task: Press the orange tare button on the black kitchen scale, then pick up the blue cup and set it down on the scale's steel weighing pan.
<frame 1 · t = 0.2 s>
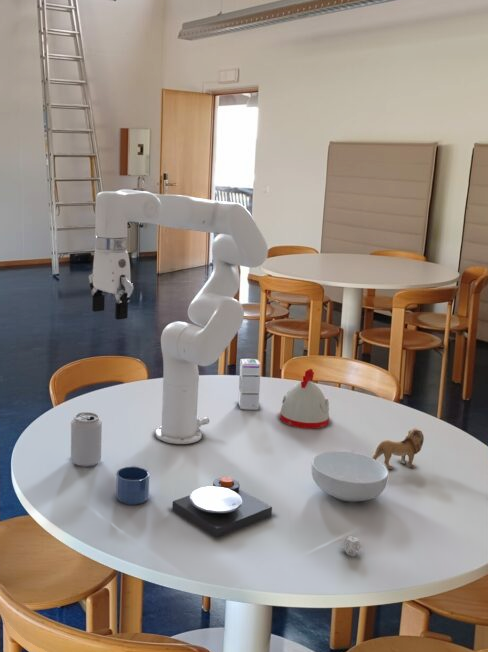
hand: (109, 314, 172), 37 cm above the table, tool pointing down, fingers open, 9 cm apart
syrup box: (247, 407, 219), on the table
can: (85, 462, 176), on the table
tare button: (226, 482, 159), point 4 cm above the table, slide at 0.2 cm
lion figurine: (396, 465, 180), on the table
weighing pan: (214, 515, 152), resting on scale
blue cup: (132, 498, 158), on the table
kitchen timer: (304, 420, 209), on the table
cereal bowl: (347, 495, 163), on the table
game die: (351, 553, 139), on the table
scale: (221, 512, 153), on the table
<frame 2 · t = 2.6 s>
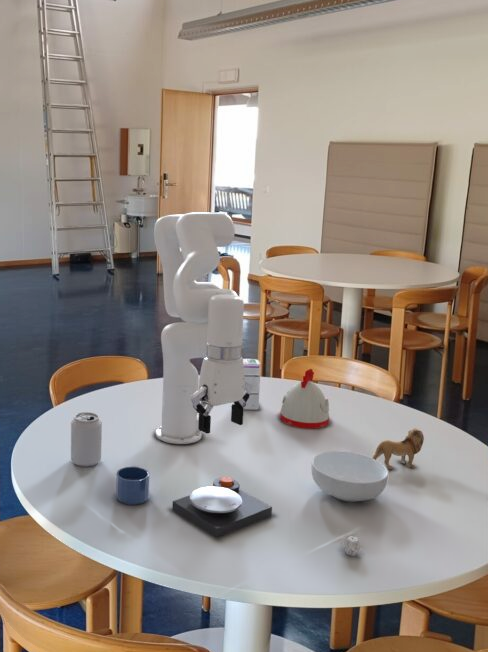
hand: (220, 427, 157), 16 cm above the table, tool pointing down, fingers open, 9 cm apart
nothing on the table moved.
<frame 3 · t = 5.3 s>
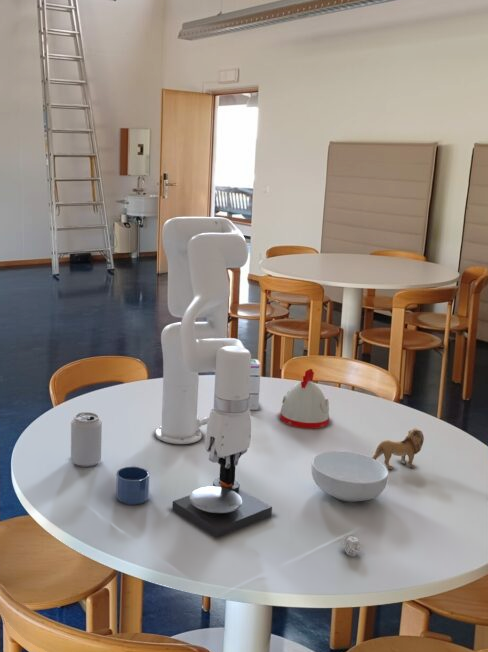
hand: (226, 481, 159), 4 cm above the table, tool pointing down, fingers closed
tare button: (226, 484, 159), point 3 cm above the table, slide at -0.3 cm, touching gripper
everything else where it was.
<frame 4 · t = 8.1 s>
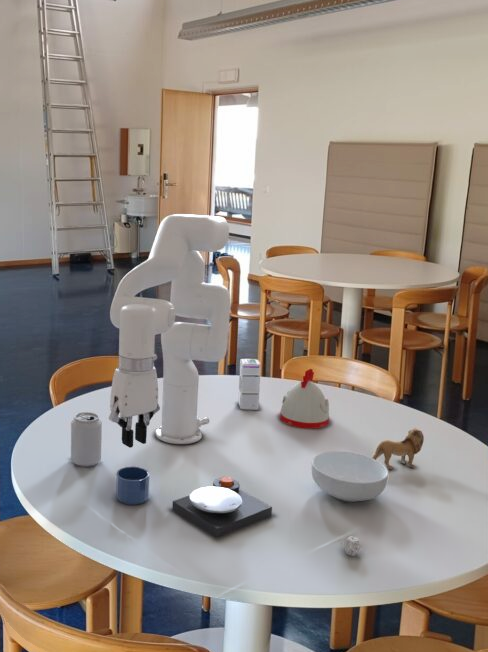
hand: (134, 442, 155), 13 cm above the table, tool pointing down, fingers closed
tare button: (226, 482, 159), point 4 cm above the table, slide at 0.1 cm
everything else where it was.
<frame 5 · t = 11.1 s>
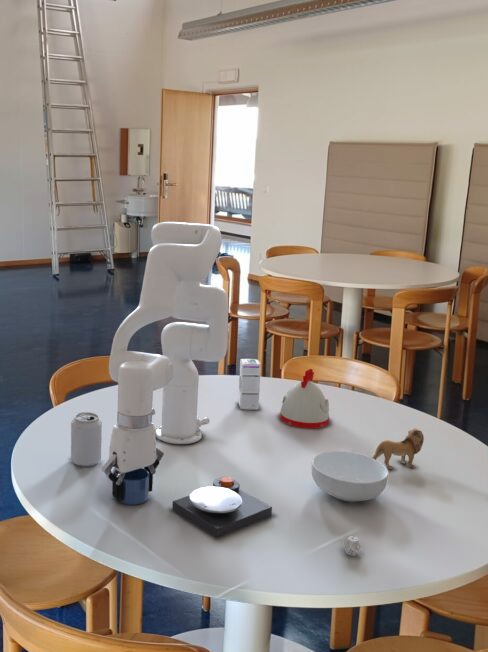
hand: (132, 493, 158), 1 cm above the table, tool pointing down, fingers closed on blue cup, 7 cm apart
blue cup: (132, 498, 158), on the table, touching gripper
everything else where it was.
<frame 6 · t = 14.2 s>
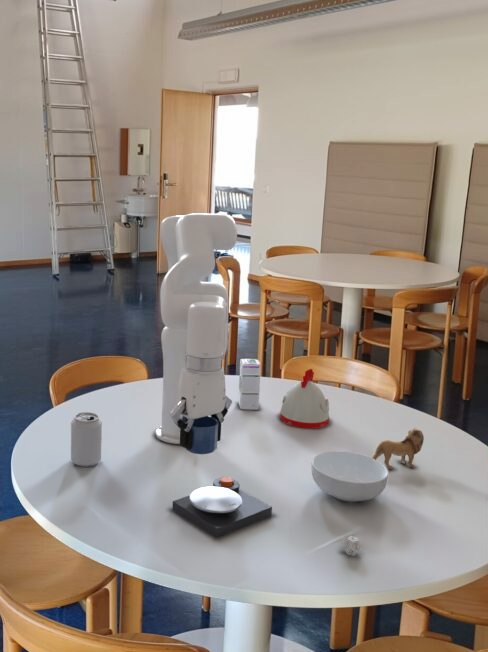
hand: (200, 442, 150), 16 cm above the table, tool pointing down, fingers closed on blue cup, 7 cm apart
blue cup: (199, 448, 150), point 15 cm above the table, touching gripper
everything else where it was.
when the fingers open (5 cm above the table, at t = 17.6 s): blue cup stays where it is, resting on weighing pan.
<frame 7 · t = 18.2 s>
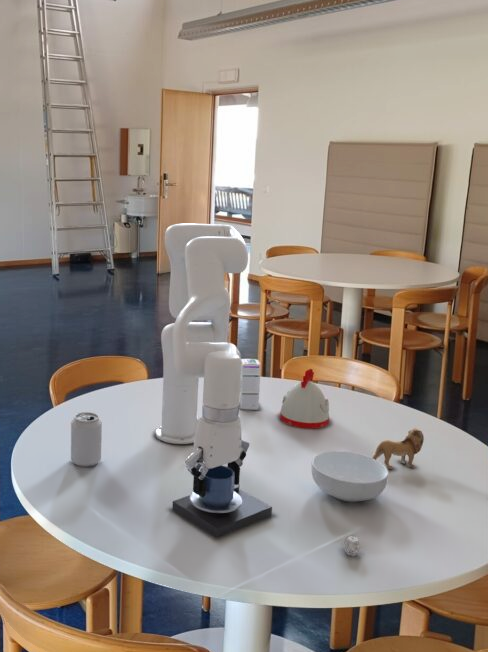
hand: (216, 488, 151), 6 cm above the table, tool pointing down, fingers open, 9 cm apart
blue cup: (215, 498, 151), point 4 cm above the table, touching weighing pan
everything else where it was.
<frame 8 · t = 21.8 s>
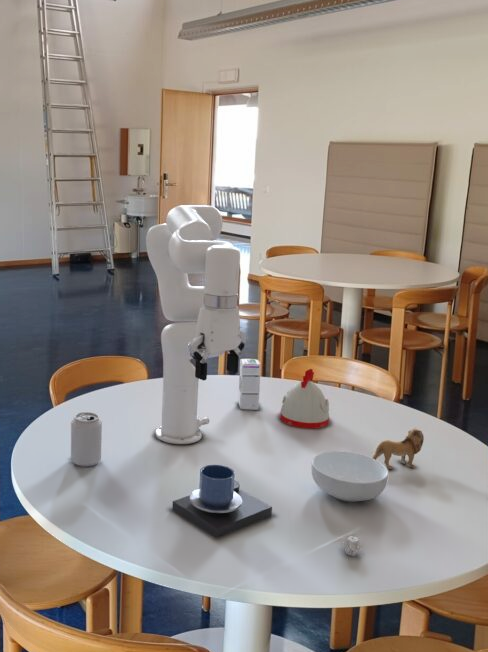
hand: (216, 375, 162), 26 cm above the table, tool pointing down, fingers open, 9 cm apart
nothing on the table moved.
at the end: tare button pushed in 0.7 cm at the most during the clip and back out by the end; blue cup inside the target area on the scale (0.1 cm from its centre), point 4.0 cm above the scale's base; blue cup tilted 0° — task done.
